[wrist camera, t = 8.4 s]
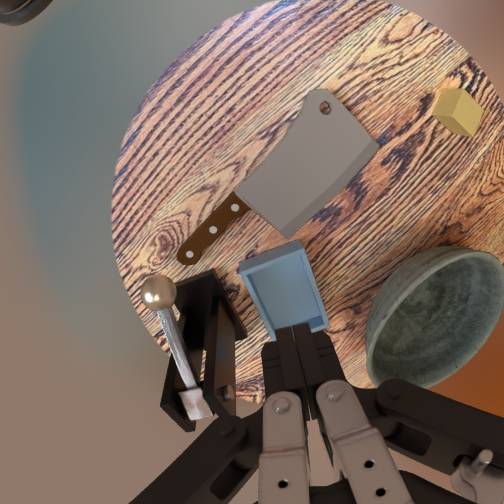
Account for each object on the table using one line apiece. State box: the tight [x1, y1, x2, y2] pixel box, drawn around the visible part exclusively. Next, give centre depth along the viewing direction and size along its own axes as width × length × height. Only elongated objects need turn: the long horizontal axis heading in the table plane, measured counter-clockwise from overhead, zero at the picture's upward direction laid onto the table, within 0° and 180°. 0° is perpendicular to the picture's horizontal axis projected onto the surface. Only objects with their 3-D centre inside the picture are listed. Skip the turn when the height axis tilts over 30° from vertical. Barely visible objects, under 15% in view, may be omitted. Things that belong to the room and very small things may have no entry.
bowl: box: [365, 246, 504, 389], centre depth 33 cm, size 21×21×10 cm
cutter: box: [160, 269, 247, 432], centre depth 30 cm, size 10×6×16 cm, turn 22°
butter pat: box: [432, 89, 484, 137], centre depth 26 cm, size 4×4×4 cm
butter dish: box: [239, 239, 330, 341], centre depth 35 cm, size 11×7×2 cm, turn 22°
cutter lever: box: [141, 274, 215, 421], centre depth 25 cm, size 13×3×3 cm
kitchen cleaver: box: [176, 89, 380, 265], centre depth 31 cm, size 24×1×10 cm
